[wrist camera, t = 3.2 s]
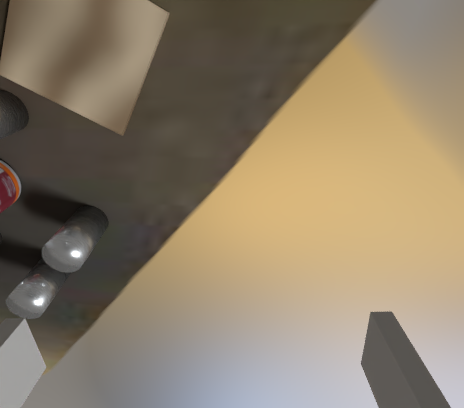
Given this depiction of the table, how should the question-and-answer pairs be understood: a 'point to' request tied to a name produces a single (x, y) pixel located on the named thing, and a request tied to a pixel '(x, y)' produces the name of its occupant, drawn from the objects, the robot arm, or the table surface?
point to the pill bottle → (8, 186)
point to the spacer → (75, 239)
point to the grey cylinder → (36, 291)
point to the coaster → (83, 53)
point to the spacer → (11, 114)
